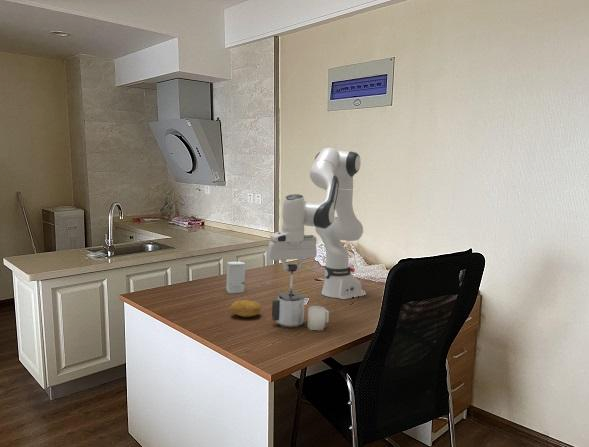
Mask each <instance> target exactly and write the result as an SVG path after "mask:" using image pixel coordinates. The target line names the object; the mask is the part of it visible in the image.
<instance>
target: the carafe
mask: <svg viewBox="0 0 589 447" xmlns="http://www.w3.org/2000/svg"><path fill="white" fill-rule="evenodd" d="M281 298H282V299H281ZM290 300H295V301H290ZM271 303H272V306H271V307H272V310H271V311H272V312H271V320H272V322H274V321H275V322H276V324H277V325H278V326H279V325H280V326H279V327H282V326H283V327H282V328H286V327H296V328H298V327H297V326H300V325H302V324H304V317H305V316H304V315H305V296H304V295H303V294H301V293H299V292H298V291H297V290H296V291H292V296H290V291H285V292H278V293H277V298H276V299H275V300H272V302H271ZM302 326H303V325H302ZM300 327H301V326H300Z"/></svg>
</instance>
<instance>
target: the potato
mask: <svg viewBox="0 0 589 447" xmlns="http://www.w3.org/2000/svg"><path fill="white" fill-rule="evenodd" d="M230 310H231V312H232V313H234V314H235V315H237V316H239V317H242V318H251V317H255V316H257V315H258V314H260V313H261V310H262V305H261V304H260V303H259V302H258V301H253V300H248V299H247V300H245V299H244V300H241V299H240V300H239V299H238V300H236V301H234V302H233V303H231V305H230Z"/></svg>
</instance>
